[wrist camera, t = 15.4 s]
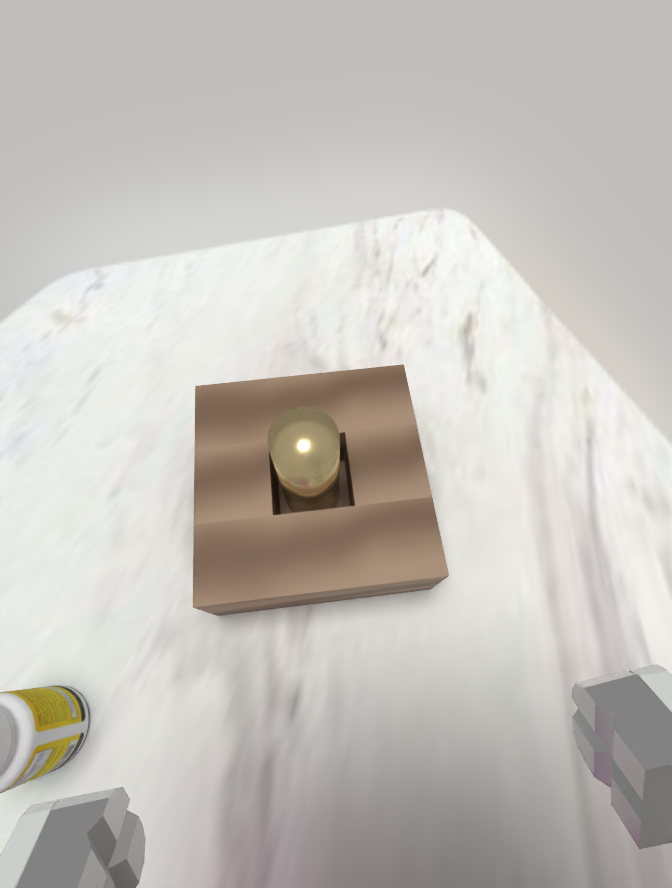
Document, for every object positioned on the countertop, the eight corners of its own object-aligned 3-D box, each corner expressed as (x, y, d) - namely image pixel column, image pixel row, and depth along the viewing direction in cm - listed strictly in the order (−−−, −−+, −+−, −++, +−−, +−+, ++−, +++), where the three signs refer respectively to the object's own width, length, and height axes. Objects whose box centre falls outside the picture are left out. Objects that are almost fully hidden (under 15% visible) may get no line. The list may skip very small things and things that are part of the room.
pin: (342, 517, 34) (344, 467, 25) (288, 524, 34) (269, 475, 25) (336, 467, 36) (335, 403, 26) (284, 473, 35) (265, 410, 26)
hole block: (430, 589, 33) (448, 575, 27) (218, 615, 32) (192, 607, 27) (394, 405, 39) (403, 364, 33) (216, 424, 38) (195, 386, 33)
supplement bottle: (25, 686, 30) (-81, 696, 23) (97, 683, 30) (15, 693, 23) (5, 774, 28) (-118, 818, 21) (83, 771, 28) (-12, 814, 21)
